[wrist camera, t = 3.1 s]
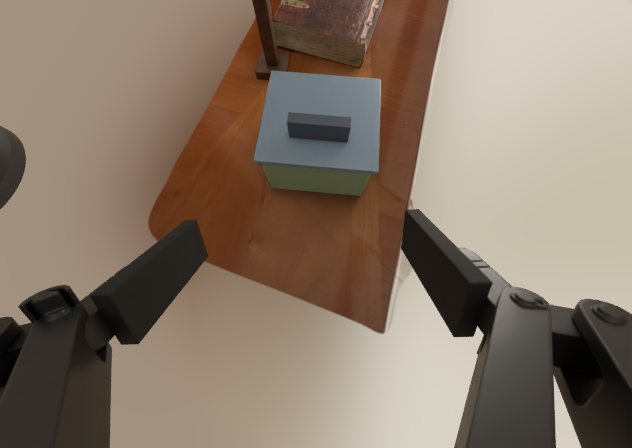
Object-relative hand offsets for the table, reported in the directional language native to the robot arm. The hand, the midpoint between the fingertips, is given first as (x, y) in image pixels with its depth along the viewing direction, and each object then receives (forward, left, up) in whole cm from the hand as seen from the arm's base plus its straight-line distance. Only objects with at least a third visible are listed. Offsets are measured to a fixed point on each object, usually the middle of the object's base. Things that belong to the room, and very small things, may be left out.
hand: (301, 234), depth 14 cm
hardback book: (+20, +54, -22) cm, 61 cm away
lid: (+7, +19, -13) cm, 24 cm away
